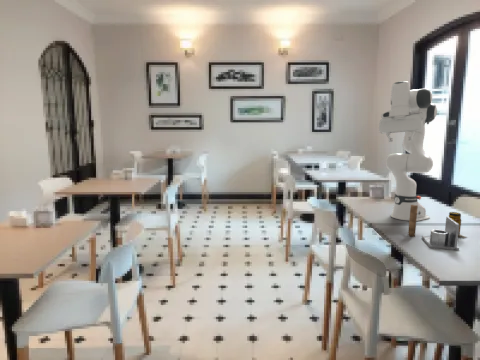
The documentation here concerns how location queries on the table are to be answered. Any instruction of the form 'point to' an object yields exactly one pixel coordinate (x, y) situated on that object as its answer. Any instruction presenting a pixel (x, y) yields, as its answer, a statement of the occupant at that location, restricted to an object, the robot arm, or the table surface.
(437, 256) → the table surface
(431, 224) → the table surface
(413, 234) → the wooden cylinder rod
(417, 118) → the robot arm
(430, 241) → the cup bracket
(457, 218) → the condiment
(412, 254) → the table surface
